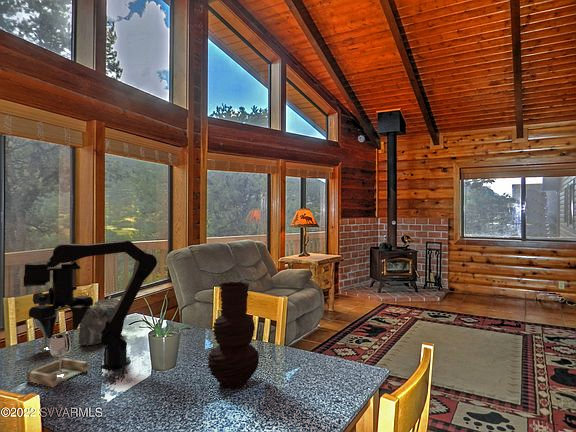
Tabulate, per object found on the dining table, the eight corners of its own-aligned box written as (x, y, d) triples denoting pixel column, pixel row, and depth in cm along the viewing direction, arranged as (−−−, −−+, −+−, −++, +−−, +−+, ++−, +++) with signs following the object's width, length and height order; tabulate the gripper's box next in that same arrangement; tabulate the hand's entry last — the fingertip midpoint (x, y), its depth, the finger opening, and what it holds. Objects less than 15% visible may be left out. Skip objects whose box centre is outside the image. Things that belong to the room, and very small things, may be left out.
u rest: (87, 371, 124) (87, 362, 124) (52, 387, 112) (53, 377, 112) (63, 367, 127) (63, 357, 127) (27, 382, 116) (27, 372, 116)
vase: (268, 380, 119) (269, 282, 119) (237, 400, 106) (239, 290, 106) (229, 369, 127) (230, 278, 127) (196, 387, 114) (197, 285, 114)
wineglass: (74, 371, 123) (75, 333, 123) (62, 379, 117) (62, 339, 117) (57, 370, 123) (58, 332, 123) (44, 378, 117) (45, 338, 117)
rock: (107, 294, 168) (125, 291, 165) (115, 330, 169) (134, 328, 166) (67, 310, 148) (87, 307, 145) (77, 352, 149) (98, 350, 146)
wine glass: (49, 352, 140) (49, 311, 140) (27, 352, 140) (28, 311, 141) (62, 345, 148) (63, 306, 148) (42, 345, 148) (42, 306, 148)
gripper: (68, 278, 132) (68, 323, 132) (15, 287, 115) (14, 340, 115) (94, 280, 129) (94, 326, 129) (43, 290, 111) (43, 344, 111)
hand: (62, 333), depth 121 cm, fingers open, 9 cm apart
